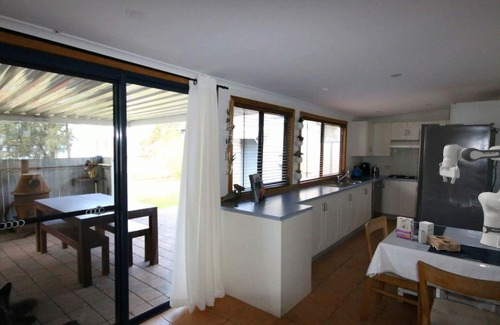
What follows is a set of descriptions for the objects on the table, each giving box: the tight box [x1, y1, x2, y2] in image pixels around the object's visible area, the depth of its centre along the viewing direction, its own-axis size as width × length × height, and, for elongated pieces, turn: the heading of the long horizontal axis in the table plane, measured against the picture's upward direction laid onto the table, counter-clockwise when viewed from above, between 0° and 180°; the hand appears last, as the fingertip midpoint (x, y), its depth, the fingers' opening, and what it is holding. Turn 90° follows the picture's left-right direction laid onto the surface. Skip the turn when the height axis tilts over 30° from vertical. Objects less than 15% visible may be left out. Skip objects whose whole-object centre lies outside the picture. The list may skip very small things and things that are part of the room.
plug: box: [417, 229, 427, 245], centre depth 203 cm, size 4×4×10 cm
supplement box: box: [418, 220, 435, 236], centre depth 213 cm, size 7×7×13 cm
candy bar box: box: [396, 216, 415, 241], centre depth 213 cm, size 11×5×16 cm, turn 37°
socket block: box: [426, 235, 461, 253], centre depth 195 cm, size 14×18×5 cm
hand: (448, 182), depth 201 cm, fingers open, 8 cm apart
